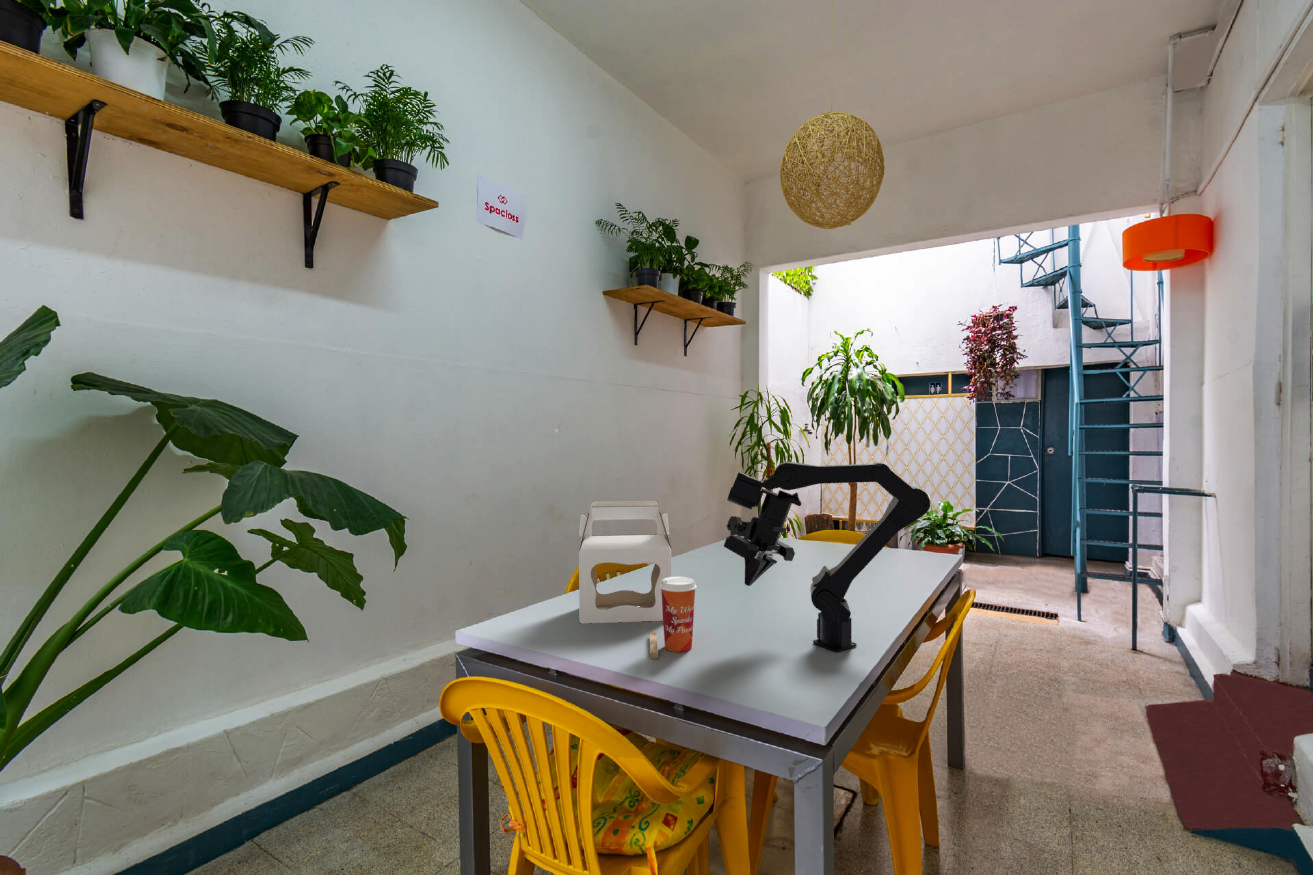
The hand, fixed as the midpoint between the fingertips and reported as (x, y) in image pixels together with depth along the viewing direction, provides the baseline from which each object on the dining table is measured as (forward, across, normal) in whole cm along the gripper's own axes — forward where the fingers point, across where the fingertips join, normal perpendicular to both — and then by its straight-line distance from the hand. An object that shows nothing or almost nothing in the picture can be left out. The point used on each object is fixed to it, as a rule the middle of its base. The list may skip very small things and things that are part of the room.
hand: (747, 584), depth 130 cm
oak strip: (+17, +15, -6) cm, 24 cm away
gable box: (+22, +4, -27) cm, 35 cm away
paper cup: (+16, +12, -3) cm, 20 cm away
